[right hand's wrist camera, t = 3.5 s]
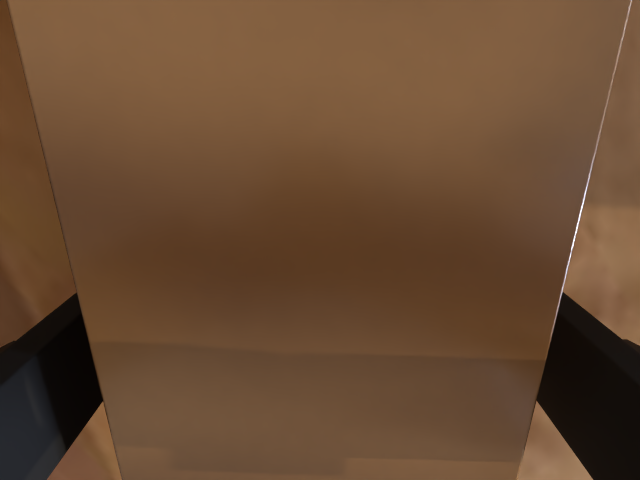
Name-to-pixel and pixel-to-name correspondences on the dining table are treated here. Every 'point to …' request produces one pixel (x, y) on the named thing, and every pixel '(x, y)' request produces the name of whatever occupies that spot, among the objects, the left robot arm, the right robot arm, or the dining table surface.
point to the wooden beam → (319, 221)
